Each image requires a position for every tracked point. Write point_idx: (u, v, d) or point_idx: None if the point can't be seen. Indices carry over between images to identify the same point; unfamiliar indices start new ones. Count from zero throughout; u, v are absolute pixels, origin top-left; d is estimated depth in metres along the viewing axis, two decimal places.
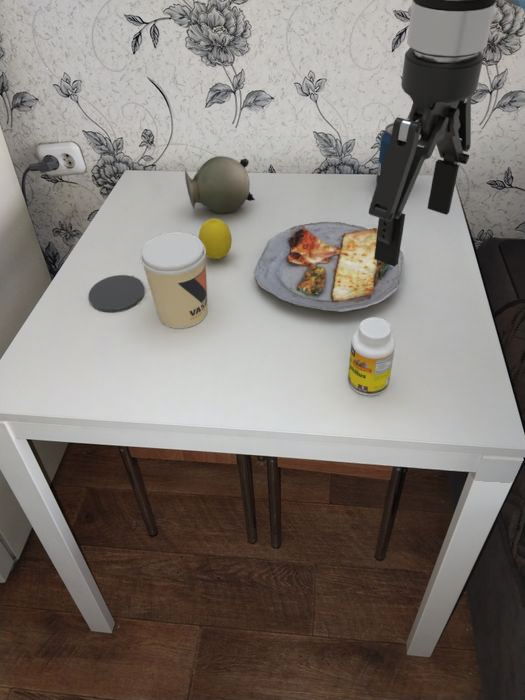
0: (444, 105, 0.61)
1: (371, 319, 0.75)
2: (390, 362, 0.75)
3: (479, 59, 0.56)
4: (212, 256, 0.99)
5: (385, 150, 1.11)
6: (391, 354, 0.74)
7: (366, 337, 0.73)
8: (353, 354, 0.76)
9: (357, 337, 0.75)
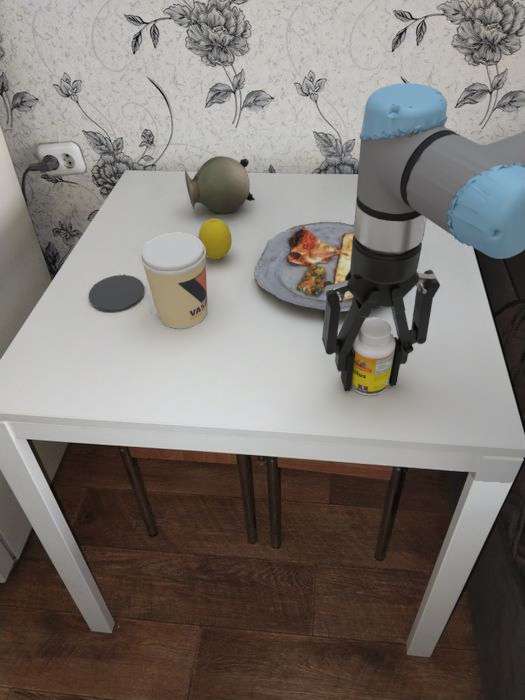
0: None
1: (371, 319, 0.75)
2: (390, 362, 0.75)
3: (399, 258, 0.62)
4: (212, 256, 0.99)
5: None
6: (391, 354, 0.74)
7: (366, 337, 0.73)
8: (353, 354, 0.76)
9: (357, 337, 0.75)
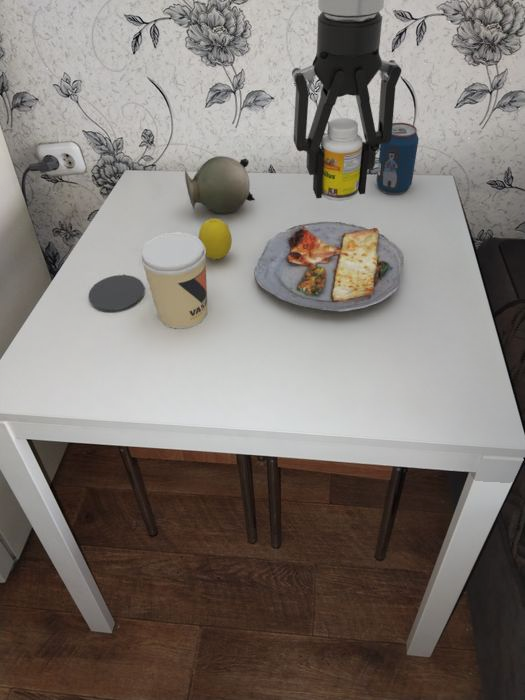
0: (347, 61, 0.72)
1: (339, 119, 0.79)
2: (358, 161, 0.80)
3: (359, 24, 0.67)
4: (212, 256, 0.99)
5: (385, 150, 1.11)
6: (358, 151, 0.79)
7: (334, 131, 0.77)
8: (323, 154, 0.80)
9: (326, 137, 0.80)
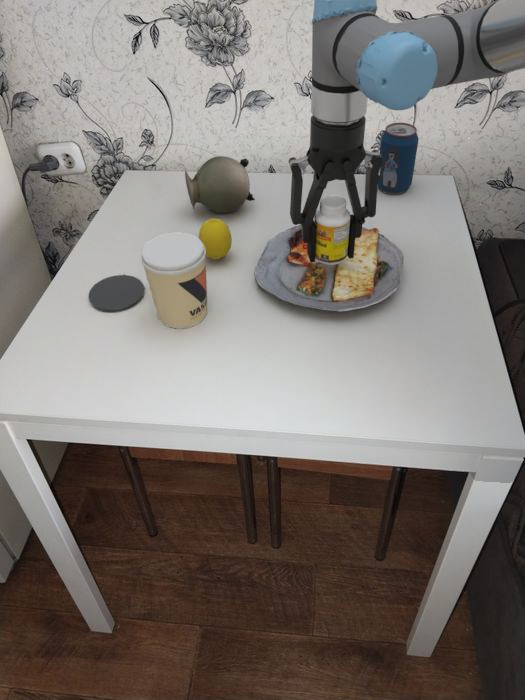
0: (336, 154, 0.83)
1: (330, 196, 0.91)
2: (346, 232, 0.91)
3: (346, 128, 0.78)
4: (212, 256, 0.99)
5: (385, 150, 1.11)
6: (346, 224, 0.90)
7: (325, 208, 0.89)
8: None
9: (319, 211, 0.91)
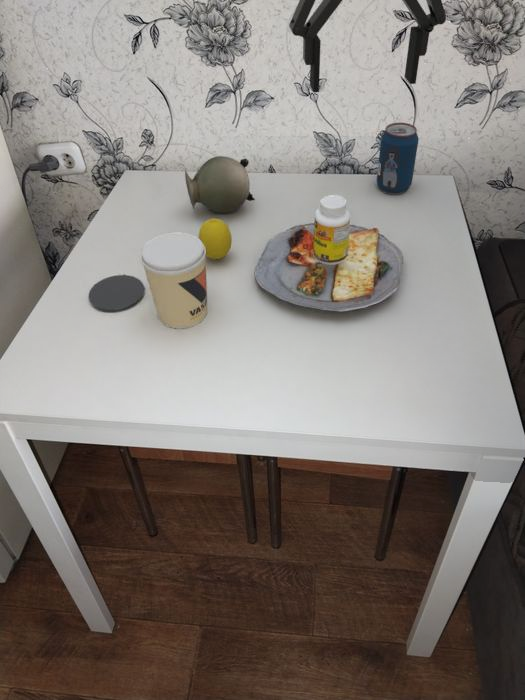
0: None
1: (330, 196, 0.91)
2: (346, 232, 0.91)
3: None
4: (212, 256, 0.99)
5: (385, 150, 1.11)
6: (347, 224, 0.90)
7: (325, 208, 0.89)
8: (316, 226, 0.92)
9: (319, 211, 0.91)
